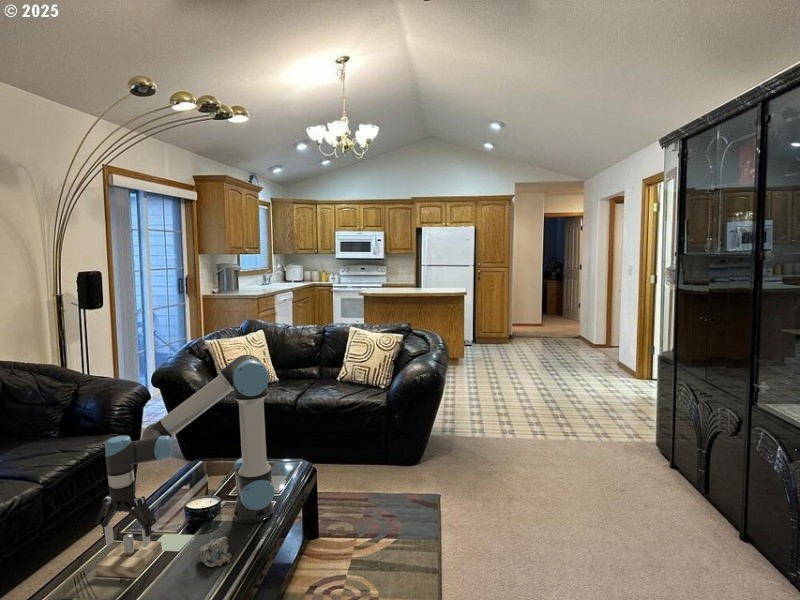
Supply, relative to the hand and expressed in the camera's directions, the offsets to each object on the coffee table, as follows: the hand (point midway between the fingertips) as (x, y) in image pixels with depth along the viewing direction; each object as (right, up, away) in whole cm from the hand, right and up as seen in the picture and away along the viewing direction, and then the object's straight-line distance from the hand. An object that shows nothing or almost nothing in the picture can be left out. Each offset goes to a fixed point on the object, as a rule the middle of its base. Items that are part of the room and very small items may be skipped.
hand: (128, 544), depth 170 cm
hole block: (0, -7, +1) cm, 7 cm away
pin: (0, -7, +1) cm, 7 cm away
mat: (+9, -6, +12) cm, 16 cm away
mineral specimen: (+29, -6, +1) cm, 29 cm away
